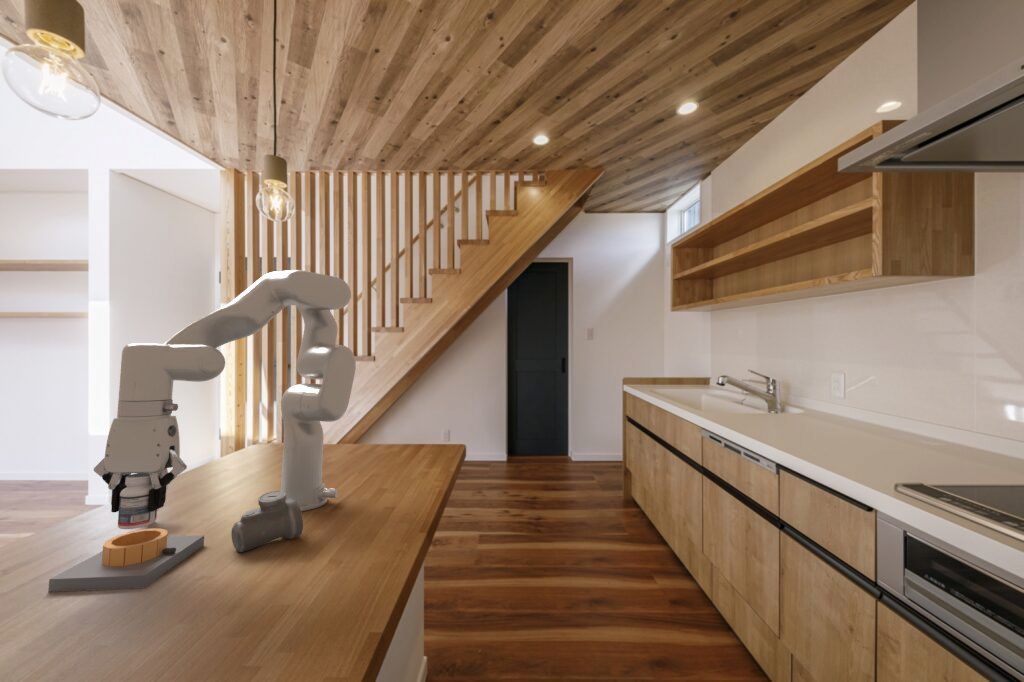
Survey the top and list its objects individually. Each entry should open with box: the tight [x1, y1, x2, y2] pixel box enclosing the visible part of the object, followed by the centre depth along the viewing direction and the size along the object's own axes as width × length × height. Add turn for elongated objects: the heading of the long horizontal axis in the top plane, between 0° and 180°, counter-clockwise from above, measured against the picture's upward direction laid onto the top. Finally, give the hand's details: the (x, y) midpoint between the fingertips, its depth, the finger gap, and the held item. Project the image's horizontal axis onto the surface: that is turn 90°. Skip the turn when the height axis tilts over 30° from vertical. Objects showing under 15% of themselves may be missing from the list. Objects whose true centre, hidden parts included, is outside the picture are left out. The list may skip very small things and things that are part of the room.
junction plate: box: [47, 527, 205, 593], centre depth 76 cm, size 14×16×5 cm
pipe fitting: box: [230, 490, 304, 553], centre depth 86 cm, size 12×8×10 cm
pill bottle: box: [117, 473, 158, 530], centre depth 76 cm, size 5×5×9 cm
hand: (138, 508), depth 76 cm, fingers closed on pill bottle, 5 cm apart
